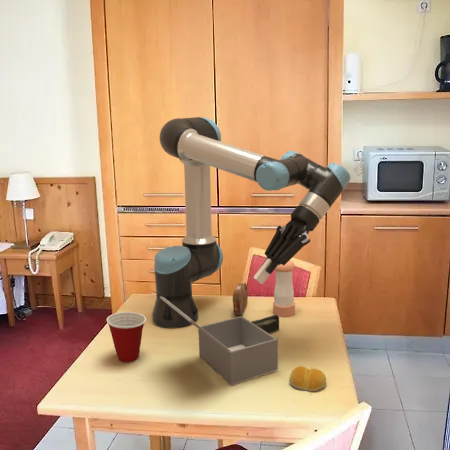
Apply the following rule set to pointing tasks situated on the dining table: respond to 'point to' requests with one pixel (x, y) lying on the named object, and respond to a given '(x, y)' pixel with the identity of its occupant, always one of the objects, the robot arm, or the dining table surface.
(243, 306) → the tin
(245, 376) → the box
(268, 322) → the black elongated piece
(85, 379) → the dining table surface
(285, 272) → the salt shaker
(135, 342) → the plastic cup
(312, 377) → the bread roll
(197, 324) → the box lid
